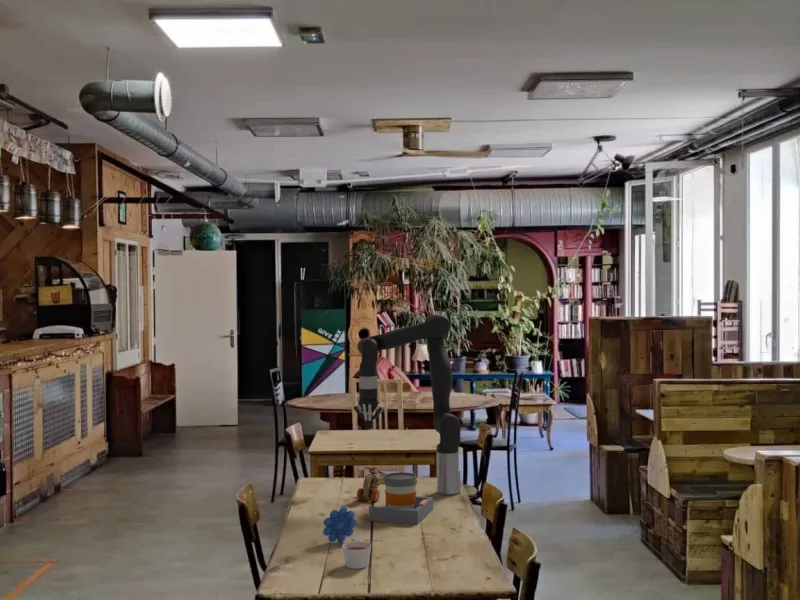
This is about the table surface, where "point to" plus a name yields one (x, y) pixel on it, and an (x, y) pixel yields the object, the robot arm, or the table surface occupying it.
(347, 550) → the candle
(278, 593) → the table surface
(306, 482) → the table surface
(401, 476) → the reusable coffee cup
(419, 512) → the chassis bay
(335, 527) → the grapes
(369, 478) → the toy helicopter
